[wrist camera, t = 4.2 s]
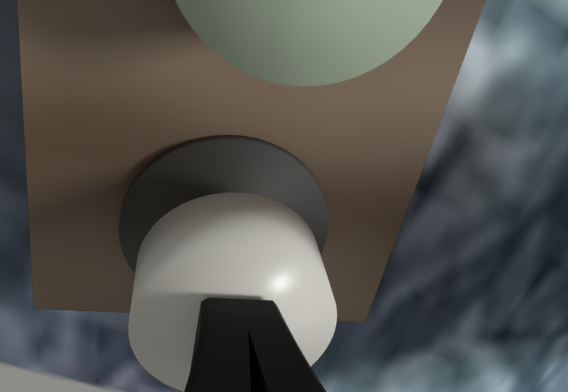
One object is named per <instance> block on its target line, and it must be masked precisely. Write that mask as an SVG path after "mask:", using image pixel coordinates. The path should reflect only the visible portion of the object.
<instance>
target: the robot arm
mask: <svg viewBox="0 0 568 392" xmlns="http://www.w3.org/2000/svg"><path fill="white" fill-rule="evenodd" d="M184 392H326V391H325V389H324V388H323V386H322V384H321V383H320V381H319V380H318V378H317V376H316V375H315V373H314V372H313V370H312V368H311V367H310V365H309V363H308V362H307V360H306V358H305V356H304V355H303V353H302V351H301V349H300V348H299V346H298V344H297V342H296V341H295V339H294V337H293V335H292V333H291V331H290V330H289V328H288V326H287V324H286V322H285V320H284V318H283V316H282V314H281V312H280V310H279V308H278V306H277V305H276V304H275V302H274V301H273V300H253V299H231V298H209V297H208V298H206V299H205V300H203V301H202V302H201V305H200V311H199V318H198V324H197V330H196V336H195V343H194V349H193V355H192V362H191V368H190V374H189V377H188V380H187V384H186V387H185V391H184Z"/></svg>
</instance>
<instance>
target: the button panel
mask: <svg viewBox="0 0 568 392" xmlns="http://www.w3.org/2000/svg"><path fill="white" fill-rule="evenodd" d="M485 1H486V0H443V1H442V3H441V4H440V6H439V7H438V9H437V10H436V12H435V13H434V15H433V16H432V18H431V19H430V21H429V22H428V23H427V24H426V26H425V27H424V28H423V29H422V30H421V31H420V33H419V34H418V35H417V36H416V37H415V38H414V39H413V40H412V41H411V42H410V43H409V44H408V45H407V46H406V47H405V48H403V49H402V50H401V51H400V52H398V53H397V54H396V55H394V56H393V57H392V58H390V59H389V60H388V61H386V62H385V63H383V64H381V65H379V66H378V67H376V68H374V69H373V70H371V71H368V72H366V73H364V74H362V75H359V76H357V77H355V78H351V79H348V80H345V81H342V82H338V83H333V84H327V85H322V86H291V85H283V84H278V83H273V82H269V81H266V80H263V79H260V78H257V77H254V76H252V75H250V74H248V73H246V72H244V71H242V70H240V69H238V68H236V67H234V66H233V65H231V64H230V63H228V62H227V61H225V60H224V59H222V58H221V57H220V56H219V55H217V54H216V53H215V52H214V51H213V50H212V49H211V48H209V47H208V46H207V45H206V44H205V43H204V42H203V40H202V39H201V38H200V37H199V36H198V35H197V34H196V33H195V31H194V30H193V29H192V27H191V26H190V25H189V23H188V22H187V20H186V19H185V17H184V16H183V14H182V13H181V11H180V9H179V7H178V5H177V3H176V1H175V0H17V6H18V25H19V44H20V63H21V82H22V100H23V119H24V138H25V157H26V176H27V195H28V214H29V233H30V252H31V271H32V290H33V309H51V310H76V311H100V312H124V313H130V308H131V301H132V293H133V286H134V278H135V271H136V263H137V257H138V252H139V250H140V247H141V244H142V242H143V240H144V238H145V236H146V235H147V233H148V232H149V231H150V229H151V228H152V227H153V226H154V225H155V224H156V223H157V222H158V221H159V220H160V219H161V218H162V217H163V216H164V215H166V214H167V213H168V212H170V211H171V210H173V209H174V208H176V207H178V206H180V205H181V204H184V203H186V202H188V201H191V200H193V199H196V198H199V197H203V196H206V195H212V194H217V193H229V192H236V193H249V194H256V195H260V196H263V197H267V198H270V199H273V200H275V201H277V202H280V203H282V204H283V205H285V206H287V207H289V208H290V209H292V210H293V211H294V212H295V213H297V214H298V215H299V216H300V217H301V218H302V219H303V220H304V221H305V222H306V224H307V225H308V226H309V228H310V229H311V231H312V233H313V235H314V237H315V239H316V242H317V245H318V248H319V252H320V255H321V258H322V261H323V264H324V268H325V271H326V274H327V277H328V280H329V283H330V287H331V290H332V293H333V296H334V299H335V303H336V309H337V321H343V322H365V321H366V319H367V316H368V313H369V311H370V308H371V305H372V303H373V300H374V297H375V295H376V292H377V289H378V287H379V284H380V281H381V279H382V276H383V273H384V271H385V268H386V265H387V263H388V260H389V257H390V255H391V252H392V249H393V247H394V244H395V241H396V239H397V236H398V233H399V231H400V228H401V225H402V223H403V220H404V217H405V215H406V212H407V209H408V207H409V204H410V201H411V199H412V196H413V193H414V191H415V188H416V185H417V182H418V180H419V177H420V174H421V172H422V169H423V166H424V164H425V161H426V158H427V156H428V153H429V150H430V148H431V145H432V142H433V140H434V137H435V134H436V132H437V129H438V126H439V124H440V121H441V118H442V116H443V113H444V110H445V108H446V105H447V102H448V100H449V97H450V94H451V92H452V89H453V86H454V84H455V81H456V78H457V76H458V73H459V70H460V68H461V65H462V62H463V60H464V57H465V54H466V52H467V49H468V46H469V44H470V41H471V38H472V36H473V33H474V30H475V28H476V25H477V22H478V20H479V17H480V14H481V12H482V9H483V6H484V4H485Z"/></svg>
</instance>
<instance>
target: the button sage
mask: <svg viewBox="0 0 568 392" xmlns="http://www.w3.org/2000/svg"><path fill="white" fill-rule="evenodd" d="M175 1H176V3H177V5H178V7H179V9H180V11H181V13H182V14H183V16H184V17H185V19H186V20H187V22H188V23H189V25H190V26H191V27H192V29H193V30H194V31H195V33H196V34H197V35H198V36H199V37H200V38H201V39H202V40H203V42H204V43H205V44H206V45H207V46H208V47H209V48H211V49H212V50H213V51H214V52H215V53H216V54H217V55H219V56H220V57H221V58H222V59H224V60H225V61H227V62H228V63H230V64H231V65H233V66H234V67H236V68H238V69H240V70H242V71H244V72H246V73H248V74H250V75H252V76H254V77H257V78H260V79H263V80H266V81H269V82H273V83H278V84H283V85H291V86H322V85H327V84H333V83H338V82H342V81H345V80H348V79H351V78H355V77H357V76H359V75H362V74H364V73H366V72H368V71H371V70H373V69H374V68H376V67H378V66H379V65H381V64H383V63H385V62H386V61H388V60H389V59H390V58H392V57H393V56H394V55H396V54H397V53H398V52H400V51H401V50H402V49H403V48H405V47H406V46H407V45H408V44H409V43H410V42H411V41H412V40H413V39H414V38H415V37H416V36H417V35H418V34H419V33H420V31H421V30H422V29H423V28H424V27H425V26H426V24H427V23H428V22H429V21H430V19H431V18H432V16H433V15H434V13H435V12H436V10H437V9H438V7H439V6H440V4H441V3H442V1H443V0H175Z"/></svg>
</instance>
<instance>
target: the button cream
mask: <svg viewBox="0 0 568 392" xmlns="http://www.w3.org/2000/svg"><path fill="white" fill-rule="evenodd" d="M208 297H209V298H231V299H253V300H273V301H274V302H275V304H276V305H277V306H278V308H279V310H280V312H281V314H282V316H283V318H284V320H285V322H286V324H287V326H288V328H289V330H290V331H291V333H292V335H293V337H294V339H295V341H296V342H297V344H298V346H299V348H300V349H301V351H302V353H303V355H304V356H305V358H306V360H307V362H308V363H309V365H310V367H311V366H312V365H313V364H314V363H315V362H316V361H317V360H318V359H319V358H320V356H321V355H322V354H323V353H324V351H325V350H326V348H327V347H328V345H329V343H330V341H331V339H332V337H333V334H334V331H335V327H336V322H337V309H336V303H335V299H334V296H333V293H332V290H331V287H330V283H329V280H328V277H327V274H326V271H325V268H324V264H323V261H322V258H321V255H320V252H319V248H318V245H317V242H316V239H315V237H314V235H313V233H312V231H311V229H310V228H309V226H308V225H307V224H306V222H305V221H304V220H303V219H302V218H301V217H300V216H299V215H298V214H297V213H295V212H294V211H293V210H292V209H290V208H289V207H287V206H285V205H283V204H282V203H280V202H277V201H275V200H273V199H270V198H267V197H263V196H260V195H256V194H249V193H236V192H229V193H217V194H212V195H206V196H203V197H199V198H196V199H193V200H191V201H188V202H186V203H184V204H181V205H180V206H178V207H176V208H174V209H173V210H171V211H170V212H168V213H167V214H166V215H164V216H163V217H162V218H161V219H160V220H159V221H158V222H157V223H156V224H155V225H154V226H153V227H152V228H151V229H150V231H149V232H148V233H147V235H146V236H145V238H144V240H143V242H142V244H141V247H140V250H139V252H138V257H137V263H136V271H135V278H134V286H133V293H132V301H131V308H130V316H129V324H128V336H129V341H130V345H131V348H132V350H133V353H134V355H135V356H136V358H137V360H138V361H139V363H140V364H141V365H142V366H143V367H144V368H145V369H146V371H148V372H149V373H150V374H151V375H152V376H154V377H155V378H156V379H158V380H159V381H161V382H163V383H164V384H166V385H168V386H170V387H173V388H175V389H178V390H181V391H183V392H184V391H185V387H186V384H187V380H188V377H189V374H190V368H191V362H192V355H193V349H194V343H195V336H196V330H197V324H198V318H199V311H200V305H201V302H202V301H203V300H205V299H206V298H208Z"/></svg>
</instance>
